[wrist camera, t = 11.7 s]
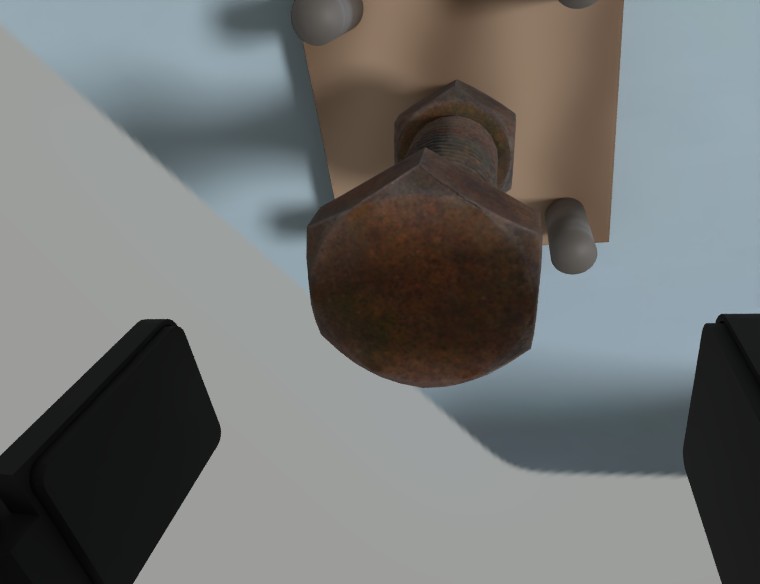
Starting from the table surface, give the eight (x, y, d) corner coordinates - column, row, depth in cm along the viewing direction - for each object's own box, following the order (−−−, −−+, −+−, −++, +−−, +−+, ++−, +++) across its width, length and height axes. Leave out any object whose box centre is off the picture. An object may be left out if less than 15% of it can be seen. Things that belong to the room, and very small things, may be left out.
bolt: (434, 196, 27) (372, 416, 14) (377, 104, 25) (251, 262, 13) (549, 136, 24) (595, 337, 12) (495, 29, 23) (484, 132, 10)
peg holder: (622, -84, 21) (654, -91, 17) (604, 228, 28) (623, 284, 23) (300, -27, 24) (253, -20, 20) (352, 242, 31) (325, 294, 26)
